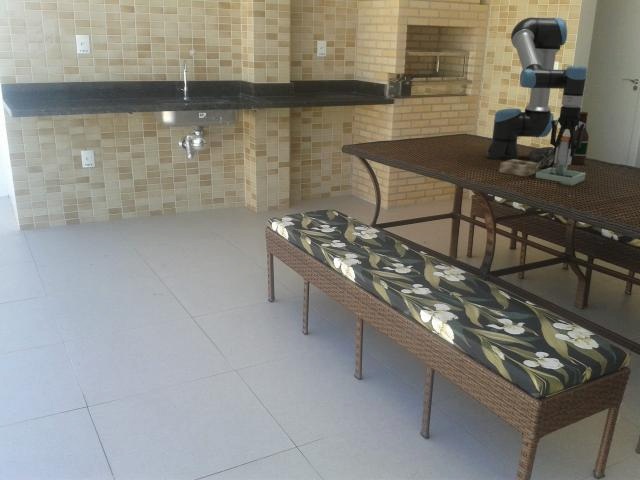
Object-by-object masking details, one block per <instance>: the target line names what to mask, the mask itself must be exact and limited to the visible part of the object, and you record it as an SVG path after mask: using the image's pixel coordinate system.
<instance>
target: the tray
mask: <svg viewBox="0 0 640 480" xmlns="http://www.w3.org/2000/svg"><path fill="white" fill-rule="evenodd" d="M555 171H556V167H553V168H548V169H543V170H540V171H539V170H538V172H537V173H535V178H536V179H543V180H549V181H554V182H557V183H556V184H560V185H565V186H569V187H572V186H574V185H576V184H579V183H581V182H584V181H585V180H586V179H585V178H586V174H587V173H586V172H581V171H576V170H568V169H567V174H566V177H563V176H557V175H555ZM568 176H569V177H568Z"/></svg>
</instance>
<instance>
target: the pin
mask: <svg viewBox="0 0 640 480" xmlns="http://www.w3.org/2000/svg"><path fill="white" fill-rule="evenodd" d="M570 148H571V140H570V136H566V135H565V136H564V135H563V136H562V137H560V144H559V151H558V158H557V163H555V164H556V166H555V168H556V171H555V173H554V175H557V176H563V177H567V175H566V174H567V170H568V166H569V165H566V164H567V158H568V151H569V149H570Z"/></svg>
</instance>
